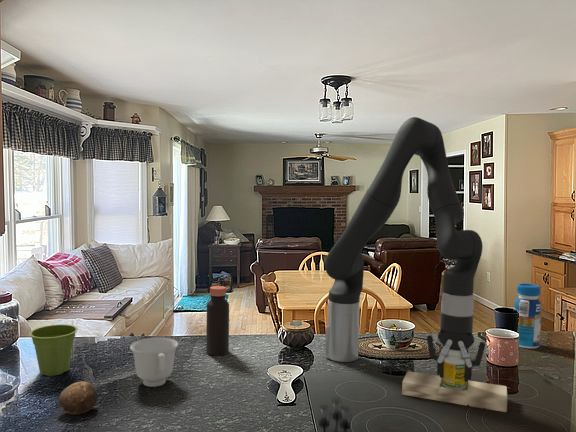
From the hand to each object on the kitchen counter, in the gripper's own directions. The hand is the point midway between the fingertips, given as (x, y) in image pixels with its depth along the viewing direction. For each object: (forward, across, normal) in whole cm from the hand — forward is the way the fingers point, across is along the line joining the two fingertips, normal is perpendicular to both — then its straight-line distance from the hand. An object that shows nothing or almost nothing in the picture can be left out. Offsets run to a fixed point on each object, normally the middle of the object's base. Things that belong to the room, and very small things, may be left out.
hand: (454, 378), depth 127 cm
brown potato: (+5, -78, -43) cm, 89 cm away
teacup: (+5, -71, -24) cm, 75 cm away
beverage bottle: (+5, +19, +53) cm, 56 cm away
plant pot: (+5, -101, -28) cm, 105 cm away
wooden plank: (+5, 0, 0) cm, 5 cm away
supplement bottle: (+2, 0, 0) cm, 2 cm away
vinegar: (+5, -69, +4) cm, 69 cm away
